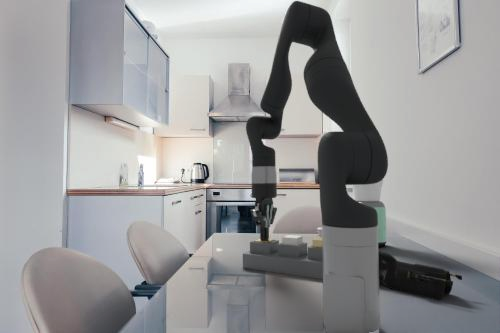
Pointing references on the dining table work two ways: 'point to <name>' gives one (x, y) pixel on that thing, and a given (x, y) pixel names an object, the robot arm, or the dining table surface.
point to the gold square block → (264, 241)
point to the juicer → (373, 205)
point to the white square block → (292, 240)
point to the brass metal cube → (317, 242)
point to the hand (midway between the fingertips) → (264, 239)
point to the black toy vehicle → (415, 277)
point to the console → (285, 259)
